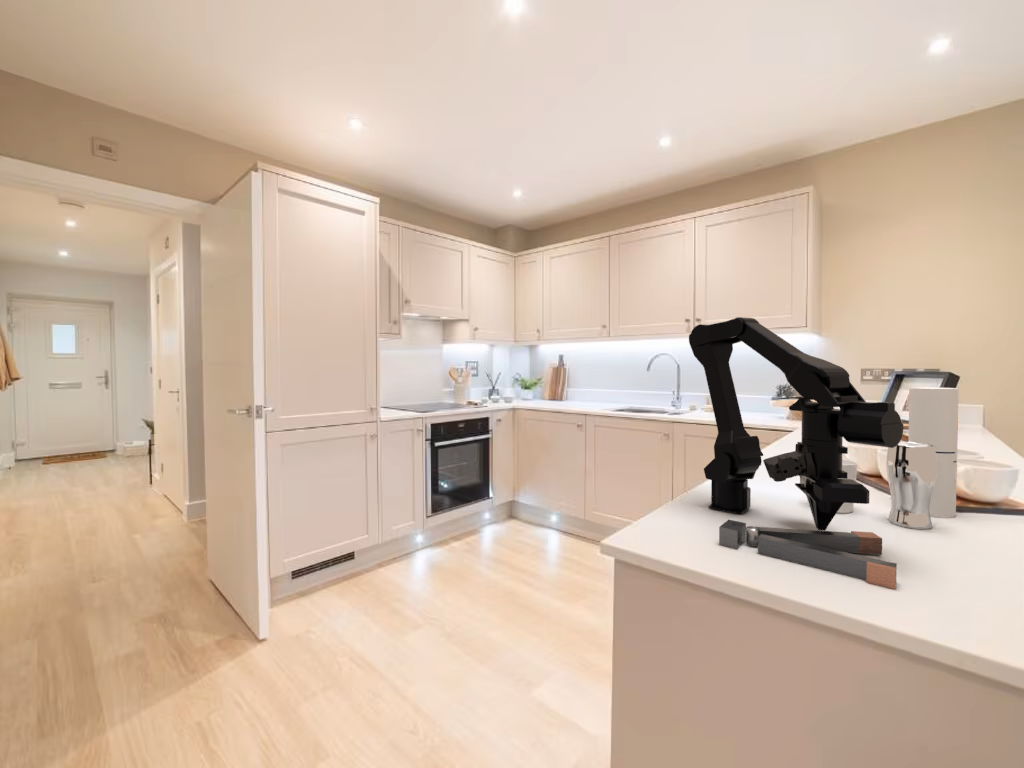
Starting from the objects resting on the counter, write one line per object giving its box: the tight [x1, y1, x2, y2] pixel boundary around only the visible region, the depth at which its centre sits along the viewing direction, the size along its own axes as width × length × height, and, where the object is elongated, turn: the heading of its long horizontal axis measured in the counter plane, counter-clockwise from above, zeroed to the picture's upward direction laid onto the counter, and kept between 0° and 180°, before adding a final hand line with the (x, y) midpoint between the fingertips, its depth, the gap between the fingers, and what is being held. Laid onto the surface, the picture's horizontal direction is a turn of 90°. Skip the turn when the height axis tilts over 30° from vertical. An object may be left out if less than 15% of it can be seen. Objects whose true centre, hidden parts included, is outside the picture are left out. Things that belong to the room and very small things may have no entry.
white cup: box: [836, 458, 858, 514], centre depth 92 cm, size 8×8×10 cm
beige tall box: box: [907, 386, 959, 519], centre depth 89 cm, size 7×7×25 cm
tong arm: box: [745, 525, 883, 556], centre depth 72 cm, size 19×3×3 cm, turn 77°
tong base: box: [718, 519, 898, 590], centre depth 68 cm, size 22×5×3 cm, turn 47°
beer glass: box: [885, 440, 937, 531], centre depth 82 cm, size 7×7×15 cm
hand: (820, 529), depth 76 cm, fingers closed
